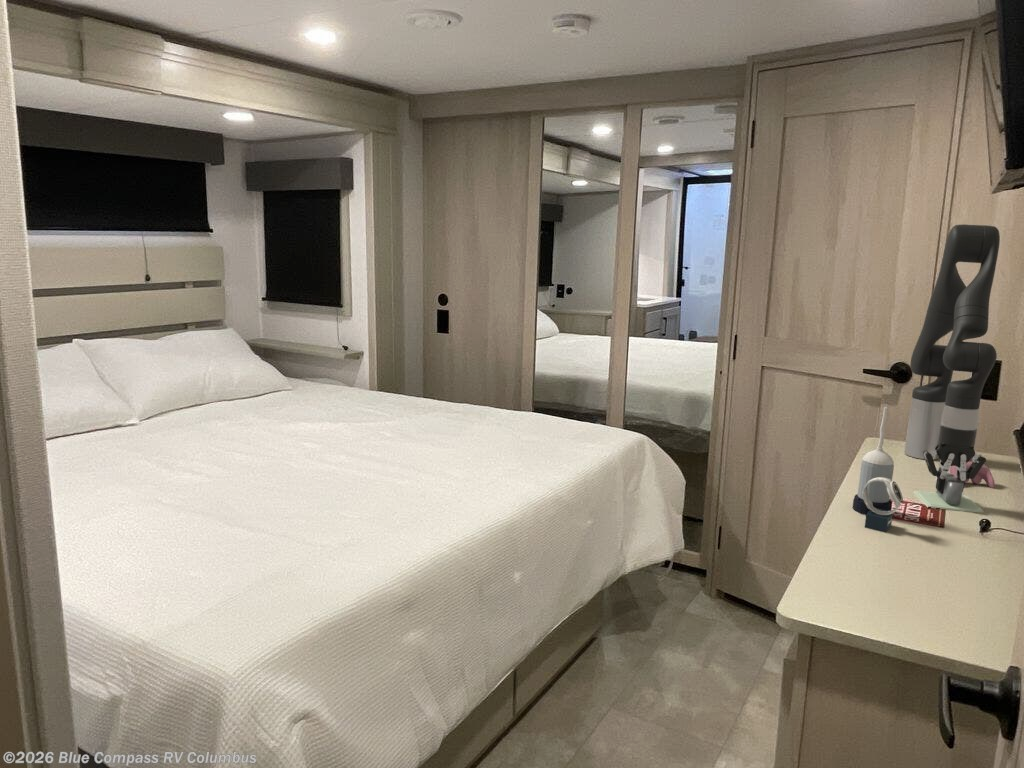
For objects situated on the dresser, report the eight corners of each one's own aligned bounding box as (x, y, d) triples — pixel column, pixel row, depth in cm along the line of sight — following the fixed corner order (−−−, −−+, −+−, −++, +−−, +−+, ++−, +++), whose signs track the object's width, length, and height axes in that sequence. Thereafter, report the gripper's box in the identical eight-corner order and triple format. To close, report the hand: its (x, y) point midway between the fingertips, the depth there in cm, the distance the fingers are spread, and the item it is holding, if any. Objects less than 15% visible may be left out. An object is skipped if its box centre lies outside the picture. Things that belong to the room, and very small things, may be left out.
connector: (931, 488, 187) (934, 469, 186) (945, 489, 186) (948, 470, 185) (947, 503, 176) (951, 483, 175) (962, 505, 175) (965, 485, 174)
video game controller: (987, 489, 195) (984, 463, 197) (997, 487, 191) (994, 460, 193) (948, 487, 196) (946, 461, 198) (957, 485, 192) (954, 458, 194)
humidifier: (875, 519, 168) (889, 412, 163) (844, 507, 175) (857, 404, 170) (898, 514, 172) (913, 409, 166) (867, 502, 179) (880, 402, 174)
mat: (913, 492, 187) (913, 490, 187) (965, 497, 184) (965, 494, 184) (927, 507, 176) (928, 505, 176) (983, 512, 174) (983, 510, 174)
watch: (895, 534, 159) (902, 486, 157) (856, 525, 164) (862, 478, 162) (901, 527, 164) (907, 480, 161) (862, 518, 168) (868, 472, 166)
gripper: (984, 423, 179) (974, 491, 182) (921, 418, 181) (912, 485, 185) (998, 431, 171) (986, 501, 175) (932, 426, 174) (922, 495, 178)
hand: (948, 493), depth 180 cm, fingers closed on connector, 3 cm apart
